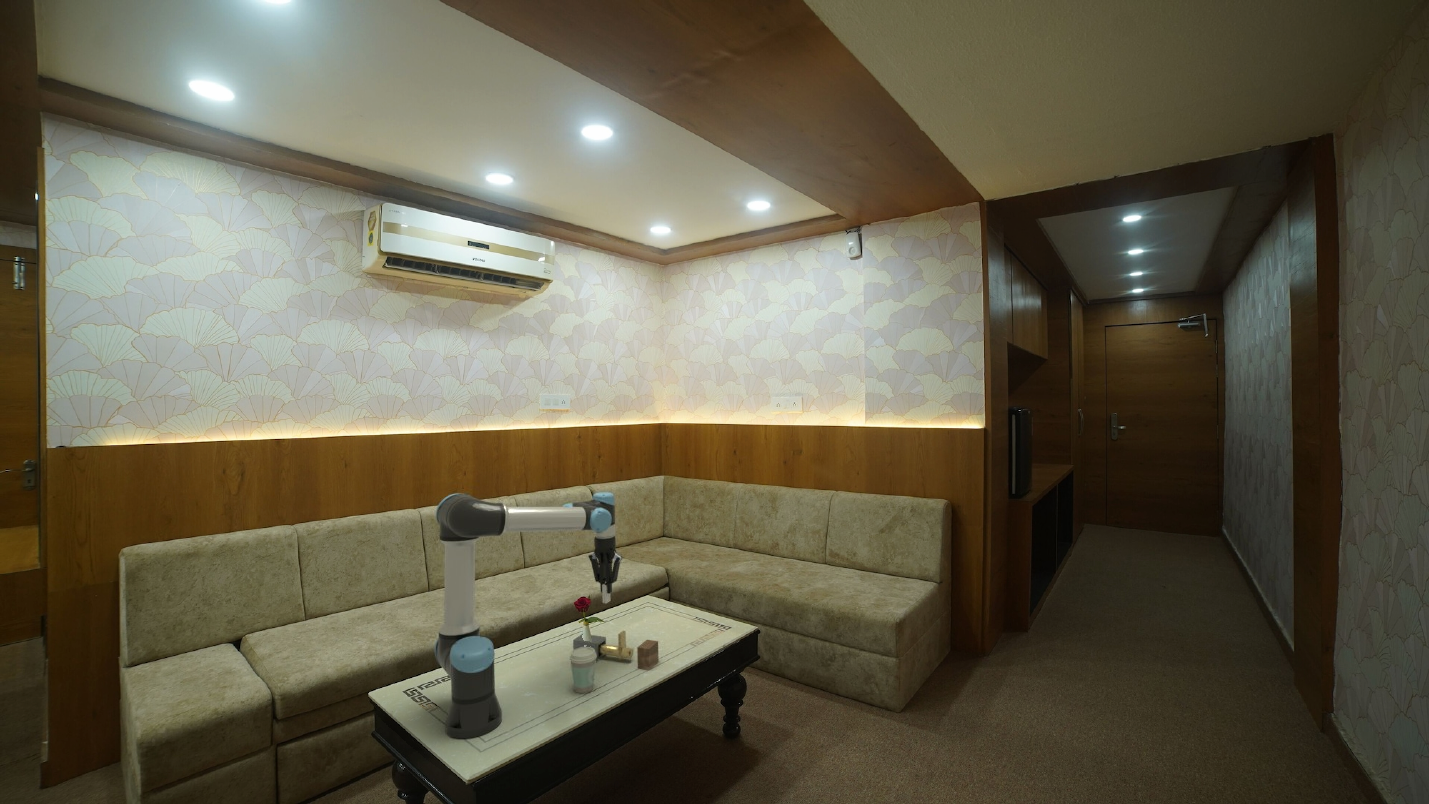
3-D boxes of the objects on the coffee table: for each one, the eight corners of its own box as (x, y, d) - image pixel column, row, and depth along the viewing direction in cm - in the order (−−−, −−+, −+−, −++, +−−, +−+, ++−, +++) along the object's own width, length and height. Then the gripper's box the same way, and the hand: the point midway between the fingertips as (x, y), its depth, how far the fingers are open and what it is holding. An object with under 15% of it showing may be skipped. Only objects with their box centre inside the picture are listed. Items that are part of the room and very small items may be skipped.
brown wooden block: (637, 668, 206) (637, 647, 206) (647, 659, 213) (646, 639, 213) (649, 670, 205) (648, 649, 205) (658, 661, 211) (658, 641, 211)
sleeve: (573, 657, 216) (573, 640, 216) (583, 650, 222) (582, 633, 222) (597, 660, 213) (596, 643, 213) (606, 654, 218) (605, 637, 218)
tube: (573, 651, 218) (572, 627, 218) (578, 647, 221) (578, 624, 221) (628, 660, 210) (628, 635, 209) (633, 656, 213) (632, 632, 213)
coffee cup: (591, 696, 188) (590, 658, 187) (565, 694, 189) (564, 656, 189) (601, 683, 196) (600, 646, 196) (577, 681, 198) (576, 645, 197)
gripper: (583, 537, 213) (585, 603, 213) (615, 539, 208) (617, 607, 209) (594, 532, 220) (596, 596, 220) (626, 535, 215) (627, 600, 216)
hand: (606, 601), depth 214 cm, fingers closed
